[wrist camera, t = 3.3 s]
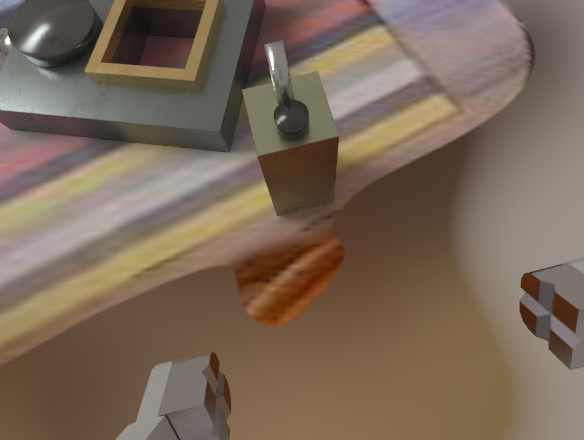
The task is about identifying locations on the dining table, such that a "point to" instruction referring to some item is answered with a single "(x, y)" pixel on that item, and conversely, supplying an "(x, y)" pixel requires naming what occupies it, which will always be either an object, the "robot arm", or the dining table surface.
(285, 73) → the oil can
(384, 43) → the dining table surface
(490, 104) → the dining table surface
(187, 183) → the dining table surface
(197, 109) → the grey base plate
